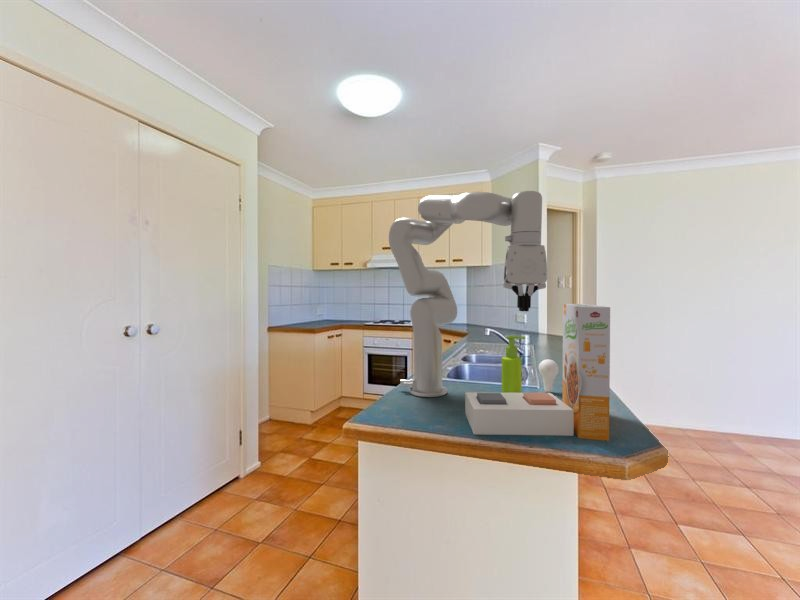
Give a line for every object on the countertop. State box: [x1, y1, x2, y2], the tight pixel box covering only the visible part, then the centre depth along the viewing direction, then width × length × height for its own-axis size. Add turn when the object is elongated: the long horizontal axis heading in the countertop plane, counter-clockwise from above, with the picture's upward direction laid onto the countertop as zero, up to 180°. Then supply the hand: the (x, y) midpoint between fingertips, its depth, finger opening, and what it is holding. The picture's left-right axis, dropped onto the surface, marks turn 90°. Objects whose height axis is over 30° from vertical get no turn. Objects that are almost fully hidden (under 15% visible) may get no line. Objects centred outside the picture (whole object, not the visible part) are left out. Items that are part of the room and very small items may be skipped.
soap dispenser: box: [501, 334, 526, 393], centre depth 110 cm, size 6×7×20 cm
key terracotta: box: [522, 392, 556, 405], centre depth 90 cm, size 6×6×4 cm
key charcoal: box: [477, 392, 506, 405], centre depth 90 cm, size 6×6×4 cm
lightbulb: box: [538, 358, 560, 393], centre depth 118 cm, size 6×6×11 cm
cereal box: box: [561, 303, 611, 442], centre depth 91 cm, size 22×6×30 cm, turn 164°
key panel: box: [464, 391, 575, 437], centre depth 90 cm, size 23×14×6 cm, turn 88°
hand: (523, 310), depth 93 cm, fingers closed
